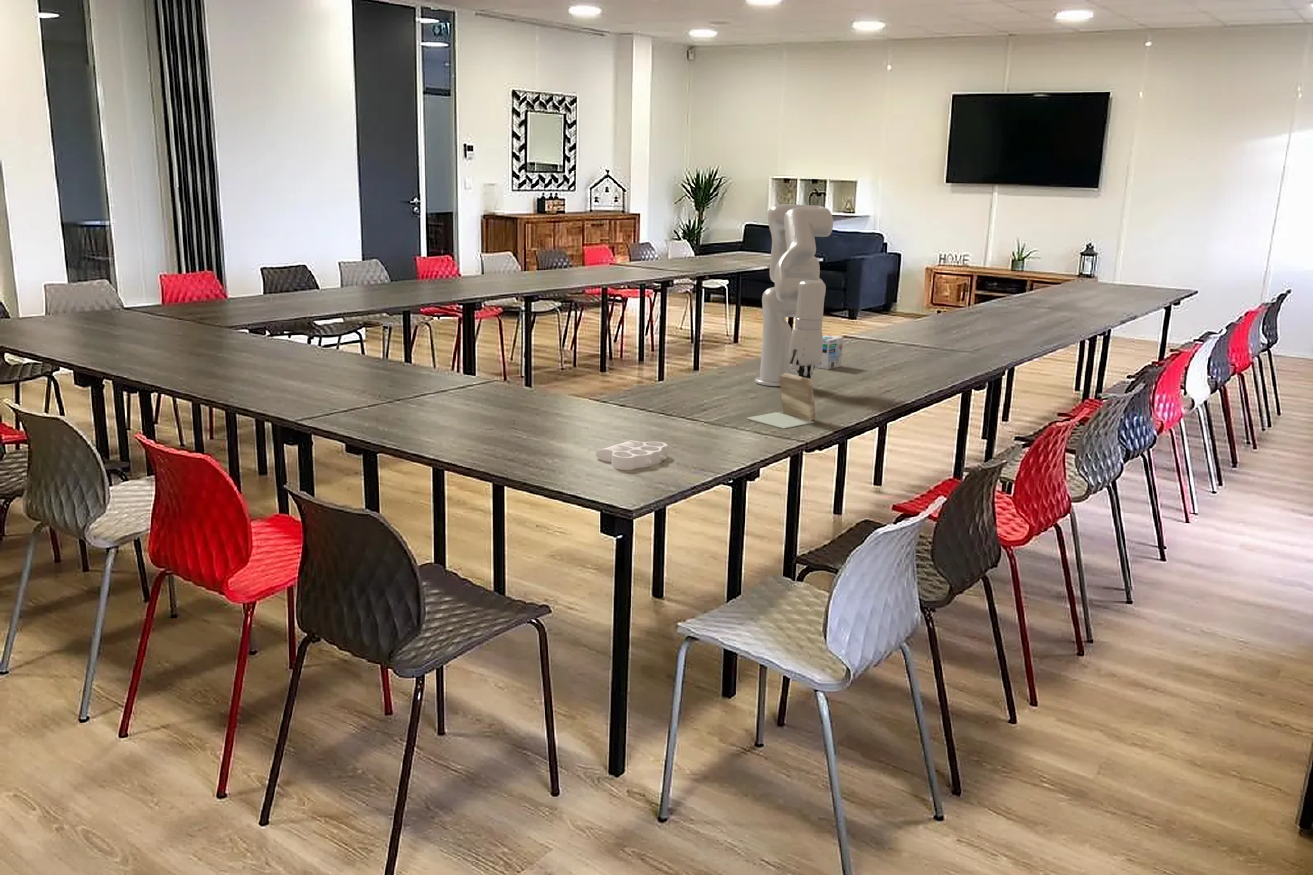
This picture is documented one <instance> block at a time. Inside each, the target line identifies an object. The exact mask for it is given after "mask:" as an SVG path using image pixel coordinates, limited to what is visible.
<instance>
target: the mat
mask: <svg viewBox="0 0 1313 875" xmlns="http://www.w3.org/2000/svg"><path fill="white" fill-rule="evenodd" d="M745 419H746V420H748V421H751V422H755V423H759V424H763V425H766V426H771V427H774V428H777V429H781V430H785V429H790V428H795V427H800V426H801V427H802V426H806V425H810V424H814V423H815V422H814V421H813V420H812V421H808V420H805V419H801V418H797V417H793V416H789V415H785V414H783V413H781V412H777V411H775V412H771V413H765V414H760V415H755V416H749V417H745Z"/></svg>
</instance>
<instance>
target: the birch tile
mask: <svg viewBox="0 0 1313 875" xmlns="http://www.w3.org/2000/svg"><path fill="white" fill-rule="evenodd" d="M779 387H780V393H781V394H780V396H781V405H782V414H785V415H789V416H793V417H797V418H801V419H805V420H808V421H812V422H813V420H816V408H815V397H814V386H813V378H811V379H809V378H805V377H800V376H799V375H791V374H787V373H784V374H782V375H780V386H779Z"/></svg>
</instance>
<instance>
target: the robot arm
mask: <svg viewBox="0 0 1313 875" xmlns="http://www.w3.org/2000/svg"><path fill="white" fill-rule="evenodd" d="M767 222H768V227H769V232H770V234H771V252H770V261H769V263H770V264H769V278H770V281H771V282H773V283H774V286H773V287H769V288H766V290H765V291H764V292H763V293H762V296H761V297H762V298H761V303H762V305H761V306H762V319H763V320H762V340H761V342H762V343H761V353H760V354H761V356H760V367H759V368H760V371H759V376H755V378H754V382H755V383H756V384H758V385H760V386H761V385H762V386H768V387H781V386H780V375H782V374H784V373H787V374H791V375H796V376H800V377H805V378H809V379H812V375H813V374H814V373H813V372H814V370H815V369H816V367H818V366H819V363H820V362H821V359H822V351H823V336H824V335H823V320H824V319H823V318H824V309H825V308H824V305H825V304H824V303H825V296H826V291H827V290H826V288H827V286H826V283H825V282H824V281H823V279H821V278H820V272H821V270H820V262H819V259H818V258H817V257H816V256H815V255H816V252H817V245H816V238H815V237H817V238H818V237H819V238H821V237H822V238H824V237H826V238H827V237H829V236H830V235H831V234H832V232H833V229H834V219H833V215H832V213H831V211H830V209H829V208H827V207H825V206H822V205H813V204H812V205H811V204H796V203H795V204H793V203H791V204H789V203H782V204H781V203H779V204H774V205H772V206H771V207H770V208H769V211H768V216H767ZM786 318H795V322H794V329H792V327H791V326H790V324H789V322H787V320H786ZM790 365H791V366H790ZM790 367H791V368H790Z"/></svg>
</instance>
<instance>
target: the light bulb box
mask: <svg viewBox="0 0 1313 875" xmlns="http://www.w3.org/2000/svg"><path fill="white" fill-rule="evenodd" d="M822 336H823V351H822V359H821V362H820V363H819V366H818V367H816V368H817V369H821V370H822V369H823V370H831V369H835V368H838V367H841V366H842V355H843V344H844V337H843V336H836V335H831V334H830V335H829V334H826V335H822ZM816 368H815V369H816Z"/></svg>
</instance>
